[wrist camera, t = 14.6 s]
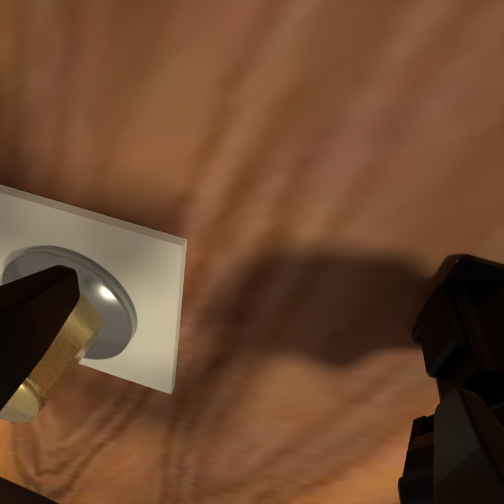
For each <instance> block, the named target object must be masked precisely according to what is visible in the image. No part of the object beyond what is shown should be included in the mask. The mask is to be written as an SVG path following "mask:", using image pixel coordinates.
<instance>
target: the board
mask: <svg viewBox="0 0 504 504" xmlns="http://www.w3.org/2000/svg"><path fill="white" fill-rule="evenodd" d="M42 245H51V246H58V247H63V248H67V249H70V250H72V251H75V252H78V253H80V254H82V255H84V256H86V257H88V258H90V259H91V260H93V261H95V262H96V263H98V264H99V265H100V266H102V267H103V268H104V269H106V270H107V271H108V272H109V273H110V274H111V275H113V276H114V277H115V278H116V279H117V280H118V282H119V283H120V284H121V285H122V286H123V287H124V289H125V290H126V292H127V293H128V295H129V296H130V298H131V300H132V302H133V304H134V307H135V310H136V314H137V321H138V322H137V329H136V332H135V334H134V336H133V338H132V339H131V341H130V342H129V344H128V345H127V347H126V348H125V349H124V350H123V351H122V352H121V353H120V354H119V355H117V356H115V357H113V358H109V359H102V360H94V359H86V358H82V359H81V360H80V362H79V364H82V365H85V366H88V367H91V368H94V369H97V370H100V371H103V372H106V373H109V374H111V375H114V376H117V377H120V378H123V379H126V380H129V381H132V382H135V383H138V384H141V385H144V386H147V387H150V388H153V389H156V390H159V391H162V392H165V393H168V394H171V393H172V391H173V389H174V387H175V377H176V366H177V354H178V342H179V330H180V318H181V306H182V295H183V283H184V271H185V259H186V247H187V239H185V238H181V237H178V236H174V235H171V234H168V233H164V232H161V231H157V230H154V229H151V228H147V227H144V226H140V225H137V224H134V223H130V222H127V221H123V220H120V219H116V218H113V217H110V216H106V215H103V214H99V213H96V212H93V211H89V210H86V209H82V208H79V207H76V206H72V205H69V204H65V203H62V202H58V201H55V200H52V199H48V198H45V197H41V196H38V195H35V194H31V193H28V192H24V191H21V190H17V189H14V188H11V187H7V186H4V185H0V286H1V285H2V276H3V272H4V269H5V268H6V266H7V265H8V264H9V263H10V262H11V261H12V260H13V259H15V258H16V257H18V256H19V255H20V254H22V253H23V252H24V251H26V250H28V249H29V248H32V247H35V246H42Z"/></svg>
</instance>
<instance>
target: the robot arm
mask: <svg viewBox="0 0 504 504" xmlns="http://www.w3.org/2000/svg"><path fill="white" fill-rule="evenodd" d="M468 264H472V266H471V267H469V268H465V266H466V265H468ZM79 298H80V289H79V282H78V275H77V272H76V270H75V269H73V268H70V267H67V266H64V265H55V266H52V267H50V268H47V269H44V270H41V271H39V272H36V273H33V274H31V275H28V276H25V277H22V278H20V279H17V280H14V281H12V282H9V283H6V284H3V285H1V286H0V411H1V410H2V409H3V408H4V406H5V405H6V404H7V402H8V401H9V400H10V399H11V397H12V396H13V395H14V394H15V392H16V391H17V390H18V388H19V387H20V386H21V385H22V383H23V382H24V381H25V380H26V378H27V377H28V376H29V374H30V373H31V372H32V371H33V369H34V368H35V367H36V366H37V364H38V363H39V362H40V360H41V359H42V358H43V356H44V355H45V353H46V352H47V350H48V349H49V347H50V346H51V344H52V343H53V341H54V340H55V338H56V336H57V335H58V333H59V332H60V330H61V328H62V327H63V325H64V324H65V322H66V320H67V319H68V317H69V316H70V314H71V313H72V311H73V309H74V308H75V306H76V305H77V303H78V301H79ZM417 322H418V323H417V325H416V326H415V328H414V329H413V331H412V339H413V341H414V342H415V343H417V344H420V345H422V350H423V356H424V361H425V367H426V372H427V373H428V375H429V377H432V378H435V379H436V382H437V387H438V392H439V397H440V403H439V405H438V406H437V408H436V410H435V414H433V415H430V416H428V417H426V416H422V417H419V418H416V419H414V421H413V426H412V431H411V436H410V441H409V446H408V451H407V454H406V461H405V466H404V471H403V476H402V477H400V478H399V481H398V492H399V499H400V504H504V265H503V264H499V263H495V262H492V261H488V260H485V259H481V258H477V257H474V256H465V257H462V258H460V259H459V260H458V262H457V263H456V265H455V266H454V268H453V269H452V271H451V272H450V274H449V276H448V277H447V279H446V280H445V282H444V283H443V285H442V286H440V287H438V288H436V289H435V291H434V292H433V294H432V296H431V297H430V299H429V300H428V302H427V303H426V305H425V306H424V308H423V310H422V311H421V313H420V314H419V316H418V318H417ZM419 336H420V337H419Z"/></svg>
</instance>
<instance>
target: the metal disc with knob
mask: <svg viewBox="0 0 504 504" xmlns="http://www.w3.org/2000/svg"><path fill="white" fill-rule="evenodd" d="M55 265H64V266H67V267H70V268H73V269H75V270H76V272H77V275H78V282H79V289H80V293H81V294H83V295H85V296H86V297H87V298H88V300H89V301H90V303H91V304H92V306H93V307H94V308H95V310H96V311H97V313H98V314H99V316H100V317H101V319H102V320H103V324H102V327H101V329H100V332H99V335H98V338H97V340H96V341H95V342H94V344H93V345H92V346H91V347H90V349H89V350H88V351H87V353H86V354H85V355H84V356H83V358H86V359H94V360H102V359H109V358H113V357H115V356H117V355H119V354H120V353H121V352H122V351H123V350H124V349H125V348H126V347H127V345H128V344H129V342H130V341H131V339H132V338H133V336H134V334H135V332H136V329H137V322H138V321H137V314H136V310H135V307H134V304H133V302H132V300H131V298H130V296H129V295H128V293H127V292H126V290H125V289H124V287H123V286H122V285H121V284H120V283H119V282H118V280H117V279H116V278H115V277H114V276H113V275H111V274H110V273H109V272H108V271H107V270H106V269H104V268H103V267H102V266H100V265H99V264H98V263H96V262H95V261H93V260H91V259H90V258H88V257H86V256H84V255H82V254H80V253H78V252H75V251H72V250H70V249H67V248H63V247H58V246H51V245H42V246H35V247H32V248H29V249H28V250H26V251H24V252H23V253H22V254H20V255H19V256H18V257H16V258H15V259H13V260H12V261H11V262H10V263H9V264H8V265H7V266H6V268H5V269H4V272H3V276H2V285H3V284H6V283H9V282H12V281H14V280H17V279H20V278H22V277H25V276H28V275H31V274H33V273H36V272H39V271H41V270H44V269H47V268H50V267H52V266H55Z"/></svg>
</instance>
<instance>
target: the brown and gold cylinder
mask: <svg viewBox="0 0 504 504" xmlns="http://www.w3.org/2000/svg"><path fill="white" fill-rule="evenodd" d="M102 324H103V320H102V319H101V317H100V316H99V314H98V313H97V311H96V310H95V308H94V307H93V306H92V304H91V303H90V301H89V300H88V298H87V297H86V296H85V295H83V294H81V293H80V298H79V301H78V303H77V305H76V306H75V308H74V309H73V311H72V313H71V314H70V316H69V317H68V319H67V320H66V322H65V324H64V325H63V327H62V328H61V330H60V332H59V333H58V335H57V336H56V338H55V340H54V341H53V343H52V344H51V346H50V347H49V349H48V350H47V352H46V353H45V355H44V356H43V358H42V359H41V360H40V362H39V363H38V364H37V366H36V367H35V368H34V369H33V371H32V372H31V373H30V374H29V376H28V377H27V378H26V380H25V381H24V382H23V383H22V385H21V386H20V387H19V388H18V390H17V391H16V392H15V394H14V395H13V396H12V397H11V399H10V400H9V401H8V402H7V404H6V405H5V406H4V408H3V409H2V410H1V411H0V418H1V419H4V420H8V421H12V422H18V423H25V422H29V421H31V420H33V419H34V418H35V416H36V415H37V414H38V412H39V411H40V410H42V409H43V408H44V407H45V405H46V404H47V403H48V401H49V400H50V399H51V398H52V396H53V395H54V394H55V392H56V391H57V390H58V389H59V387H60V386H61V385H62V383H63V382H64V381H65V380H66V378H67V377H68V376H69V374H70V373H71V372H72V371H73V369H74V368H75V367H76V365H77V364H78V363H79V362H80V360H81V359H82V358H83V356H84V355H85V354H86V353H87V351H88V350H89V349H90V347H91V346H92V345H93V344H94V342H95V341H96V340H97V338H98V335H99V332H100V329H101V327H102Z"/></svg>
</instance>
